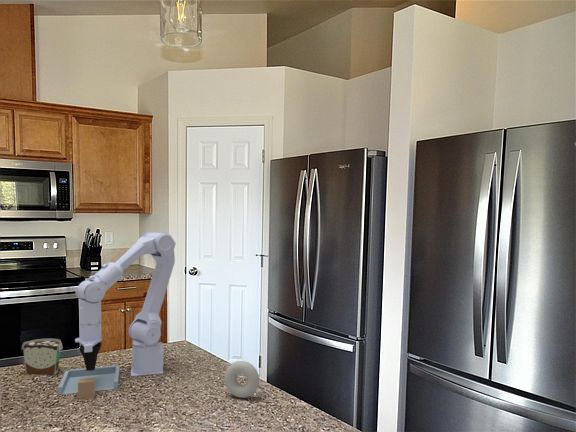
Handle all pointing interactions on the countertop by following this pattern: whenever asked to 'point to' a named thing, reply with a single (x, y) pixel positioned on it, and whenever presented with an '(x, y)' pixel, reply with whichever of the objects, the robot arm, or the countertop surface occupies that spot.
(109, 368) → the open box
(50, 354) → the food container
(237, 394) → the donut
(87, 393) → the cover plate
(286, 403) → the countertop surface
